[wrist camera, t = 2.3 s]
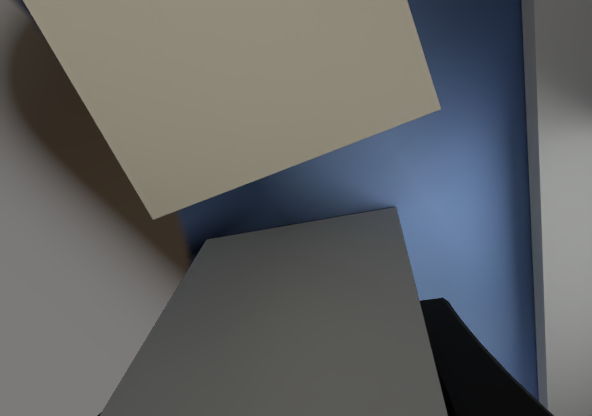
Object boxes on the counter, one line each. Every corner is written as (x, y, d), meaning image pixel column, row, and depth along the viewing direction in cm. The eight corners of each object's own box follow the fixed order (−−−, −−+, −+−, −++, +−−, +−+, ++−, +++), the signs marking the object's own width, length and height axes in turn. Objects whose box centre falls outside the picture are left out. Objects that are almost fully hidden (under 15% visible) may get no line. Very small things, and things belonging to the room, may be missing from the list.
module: (424, 378, 12) (496, 717, 6) (261, 395, 13) (191, 706, 7) (396, 206, 10) (460, 468, 4) (206, 239, 11) (52, 493, 5)
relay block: (402, 67, 9) (441, 109, 5) (225, 142, 10) (152, 219, 6) (326, -162, 8) (306, -323, 4) (129, -50, 9) (-33, -94, 5)
